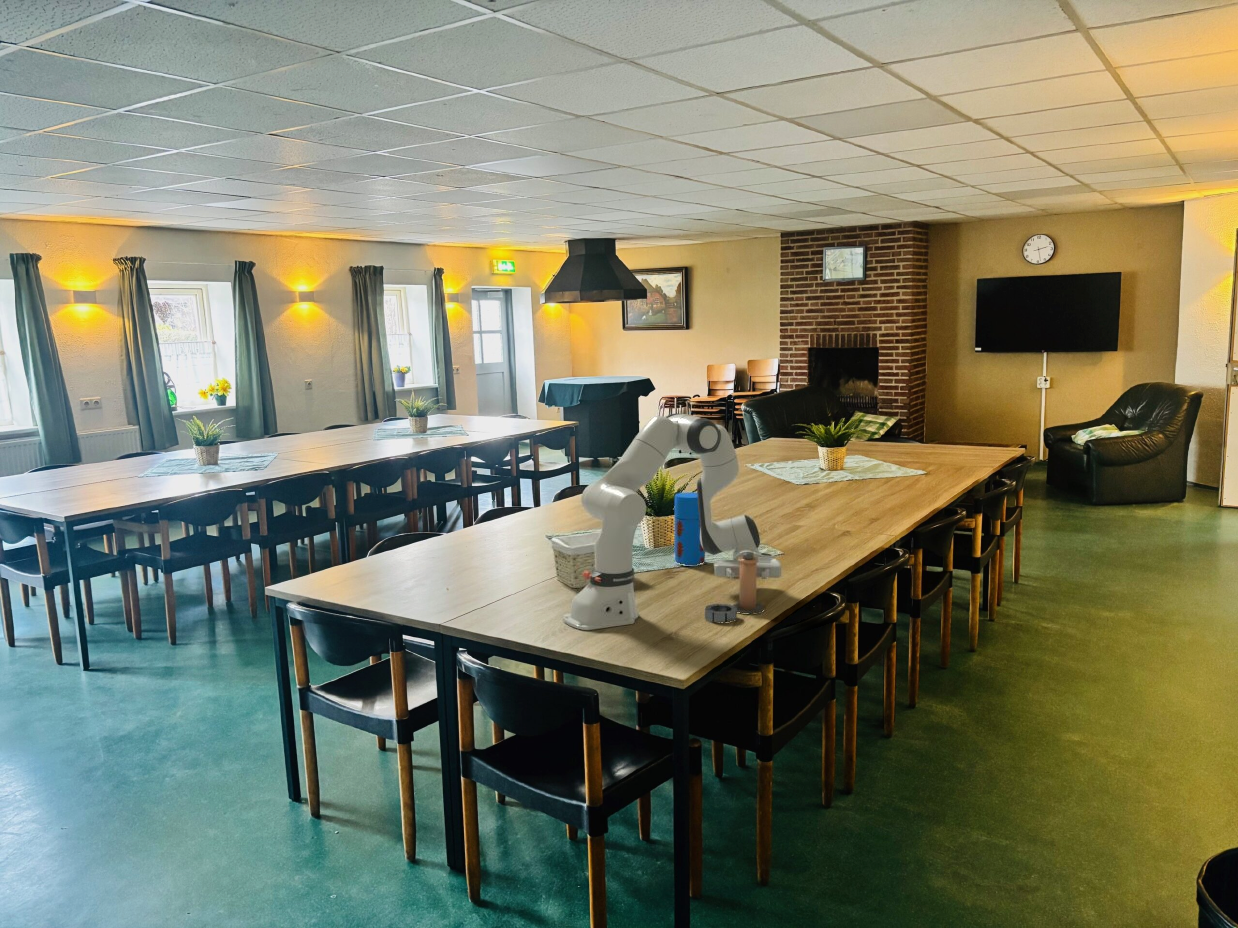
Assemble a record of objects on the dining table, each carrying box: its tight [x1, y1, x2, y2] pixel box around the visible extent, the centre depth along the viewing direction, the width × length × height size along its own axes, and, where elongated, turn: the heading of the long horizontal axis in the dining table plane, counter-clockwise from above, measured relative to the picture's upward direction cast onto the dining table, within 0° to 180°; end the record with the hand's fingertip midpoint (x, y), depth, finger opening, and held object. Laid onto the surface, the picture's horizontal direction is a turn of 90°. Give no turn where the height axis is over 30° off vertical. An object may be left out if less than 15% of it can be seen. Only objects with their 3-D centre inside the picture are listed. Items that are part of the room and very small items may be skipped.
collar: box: [704, 603, 738, 624], centre depth 255 cm, size 9×9×3 cm
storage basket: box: [551, 530, 602, 589], centre depth 297 cm, size 24×16×15 cm
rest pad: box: [731, 602, 766, 614], centre depth 264 cm, size 10×10×1 cm
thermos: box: [674, 492, 706, 565], centre depth 316 cm, size 11×11×25 cm
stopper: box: [738, 552, 758, 610], centre depth 262 cm, size 6×6×17 cm
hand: (748, 575), depth 261 cm, fingers open, 8 cm apart
